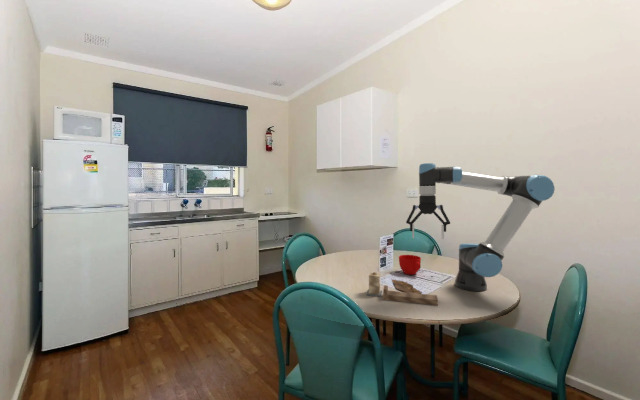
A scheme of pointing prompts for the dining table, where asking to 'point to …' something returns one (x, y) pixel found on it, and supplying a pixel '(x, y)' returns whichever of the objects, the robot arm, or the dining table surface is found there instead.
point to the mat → (374, 294)
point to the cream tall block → (374, 283)
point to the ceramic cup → (409, 264)
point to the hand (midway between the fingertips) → (427, 238)
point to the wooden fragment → (405, 287)
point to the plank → (409, 297)
